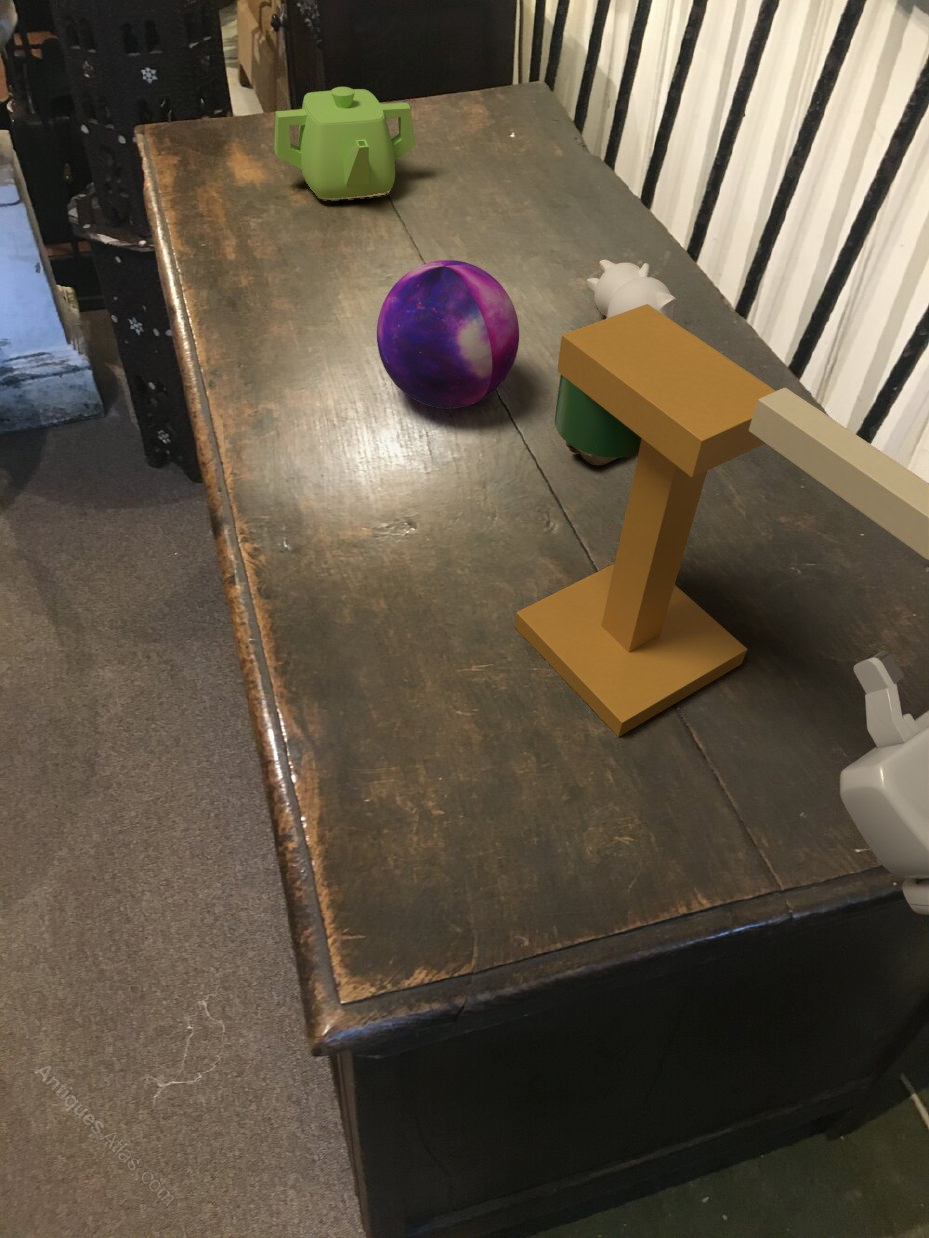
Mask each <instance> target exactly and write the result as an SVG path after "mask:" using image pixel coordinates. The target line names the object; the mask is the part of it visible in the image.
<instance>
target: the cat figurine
mask: <svg viewBox="0 0 929 1238" xmlns="http://www.w3.org/2000/svg"><path fill="white" fill-rule="evenodd" d="M599 267H600V269H601V270H602V272H603V273H602V275H601V276H600V277H599V278H597V277H590V278H587V279H586V285H587V287H588V288H589V289H590V290H591V291H592V292H593V293H594V296H593V298H594V303H595V306H596V308H597V310H598V311H599V312H600V313H601V314H602V315H603V316H605V317H606V318H605V319H607V318H610V317H612V316H615V315H618V314H621V313H623V312H626V311H629V310H632V309H635V308H637V307H640V306H643V305H646V304H648V305H650V306H651V307H653V308H654V309H656V310H657V311H659V312H660V313H662V314H663V315H664V316H666V317H667V318H669V319H670V320H672V321H673V318H674V317H673V316H674V310H675V309H674V308H675V307H674V306H675V303H676V301H677V298H676V297H675V296H674V295H672V294H671V291H670V290H669V288H668V287H667V286H666V284H665V283H663V282H662V281H661V280H660V279H657V278H654V277H651V276H649V272H650V264H649V263H647V262H645V263H643V264H642V266H641V267H640V266H639V265H637V264H635V263H633V262H619V263H615V262H612V261H610V260H608V259H601V260H600V261H599Z"/></svg>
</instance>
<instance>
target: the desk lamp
mask: <svg viewBox="0 0 929 1238" xmlns="http://www.w3.org/2000/svg"><path fill="white" fill-rule="evenodd" d="M606 318H607V317H606ZM606 318H604V319H602V320H599V321H596V322H593V323H591V324H587V325H584V326H583V327H580V328H576V329H574V330H571V331H569V332H566V333H563V334H561V338H560V345H559V346H560V348H559V354H558V361H557V370H556V372H558V374H560V376H559V382H558V383H559V384H558V391H557V392H558V393H557V399H556V407H555V415H554V426H555V428H556V431H557V433H558V435H559V436H560V437H561V438H562V439H563V440H564V441H565V443H566V442H567V443H569V444H570V445H571V446H573V447H575V448H576V449H578V450H580V451H583V452H585V453H588V454H591V455H595V456H600V457H608V458H617V459H619V458H621V459H622V458H629V457H633V456H637V458H636V463H635V468H634V472H633V477H632V481H631V486H630V491H629V495H628V500H627V504H626V510H625V514H624V517H623V518H624V519H623V523H622V528H621V532H620V537H619V541H618V546H617V552H616V555H615V561H614V563H612V564H610V565H609V566H606V567H605V568H602V569H600V570H598V571H596V572H593V574H591V575H588V576H586V577H584V578H582V579H581V580H578V581H577V582H574V583H572V584H570V585H569V586H566V587H564V588H562V589H561V590H559V591H556V592H553V593H552V594H550V595H548V596H546V597H544V598H543V599H540V600H537V601H536V602H534V603H532V604H530V605H528V606H526V607H524V608H521V609H520V610H518V611H516V612H515V622H514V628H515V629H516V631H518V633H520V635H522V637H523V638H524V639H525V640H526V641H527V642H528V643H529V644H530V645H531V646H532V647H533V648H534V650H536V651H537V652H538V653H539V655H540V656H541V657H542V658H543V659H544V660H545V661H546V662H547V663H548V664H549V665H550V666H551V667H552V669H554V671H555V672H557V674H558V675H559V676H560V677H561V678H562V679H563V681H564V682H566V683H567V684H568V686H570V687H571V689H572V690H573V691H574V692H575V693H577V695H578V696H579V697H580V698H581V699H582V700H583V701H584V703H586V704H587V705H588V706H589V708H591V711H593V712H594V713H595V714H596V715H597V716H598V717H599V718H600V720H602V721H603V723H604V724H605V725H606V726H608V728H609V729H610V730H611V731H612V732H613V733H614V734H615V736H617V738H620V737H621V736H623V735H624V734H627V733H628V732H630V731H631V730H633V729H635V728H636V727H638V726H640V725H642V724H643V723H645V722H646V721H648V720H650V719H651V718H653V717H655V716H656V715H658V714H660V713H662V712H663V711H665V710H667V709H669V708H670V707H672V706H674V705H675V704H677V703H679V702H680V701H682V700H683V699H685V698H687V697H688V696H690V695H692V694H695V692H697V691H699V690H700V689H702V688H704V687H705V686H707V685H709V684H711V683H712V682H713V681H716V680H717V679H719V678H720V677H723V676H724V675H726V674H727V673H729V672H731V671H732V670H734V669H736V668H737V667H740V665H742V664H743V662H744V659H745V657H746V654H747V651H748V648H747V647H746V646H744V645H743V644H742V643H741V642H740V641H739V640H738V639H737V638H736V637H734V636H733V635H732V634H731V633H730V632H729V631H727V629H725V628H724V627H723V626H722V625H721V624H720V623H719V622H717V621H716V619H714V618H713V617H712V616H711V615H710V614H709V613H708V612H706V611H705V610H704V609H703V608H702V607H701V606H699V604H697V603H696V602H695V601H694V600H693V599H691V598H690V597H689V596H688V595H687V594H686V593H685V592H683V590H682V589H680V588H679V587H678V586H677V585H676V582H677V578H678V574H679V571H680V568H681V564H682V561H683V558H684V553H685V550H686V548H687V543H688V539H689V536H690V532H691V529H692V526H693V522H694V518H695V516H696V512H697V508H698V505H699V502H700V499H701V495H702V491H703V488H704V484H705V481H706V478H707V475H708V474H707V473H708V471H710V470H712V469H714V468H716V467H719V466H722V464H725V463H727V462H729V461H731V460H733V459H735V458H738V457H740V456H742V455H744V454H747V453H748V452H751V451H753V450H755V449H757V448H759V447H761V446H763V445H766V443H764V442H763V441H762V440H760V439H759V438H758V437H756V436H755V435H753V434H752V433H751V432H749V427H750V424H751V421H752V418H753V415H754V411H755V408H756V405H757V402H758V399H760V398H762V397H764V396H767V395H769V394H771V393H773V392H776V391H777V390H776V389H774V388H773V387H772V386H769V385H768V384H767V383H765V382H763V381H762V380H761V379H759V378H758V377H757V376H755V375H753V374H752V373H750V372H749V371H748V370H746V369H744V368H743V367H741V365H738V364H737V363H735V362H734V361H732V360H731V359H730V358H728V357H727V356H725V355H724V354H722V353H721V352H719V351H718V350H716V349H715V348H714V347H712V346H710V345H708V343H706V342H704V341H703V340H701V339H700V338H699V337H697V336H696V335H694V334H692V333H691V332H690V331H688V330H687V329H685V328H684V327H682V326H681V325H680V324H678V323H677V322H675V321H673V319H672V320H670V319H669V318H667V317H666V316H664V315H663V314H662V313H660V312H659V311H657V310H656V309H654V308H653V307H651V306H650V305H648V304H646V305H643V306H640V307H637V308H635V309H632V310H629V311H626V312H623V313H621V314H618V315H615V316H612V317H610V318H607V319H606Z"/></svg>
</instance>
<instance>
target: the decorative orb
mask: <svg viewBox="0 0 929 1238" xmlns="http://www.w3.org/2000/svg"><path fill="white" fill-rule="evenodd" d="M378 314H379V315H378V318H377V323H376V324H377V325H376V344H377V350H378V354H379V358H380V360H381V361H380V362H381V363H382V365H383V368H384V370H385V371H386V373H387V375H388V376H389V378H390V379H391V381H392V382H393V383H394V384H395V385H396V387H397V388H398V389H399V390H400V391H401V392H403V393H404V394H405V395H406V396H408V397H409V398H411V399H412V400H414V401H415V402H418V403H420V404H423V405H425V406H428V407H433V408H437V409H447V410H448V409H449V410H450V409H451V410H452V409H460V408H465V407H469V406H471V405H474V404H476V403H478V402H481V401H482V400H485V399H486V398H487V397H489V396H490V395H492V394H493V393H494V392H495V391H496V390H497V389H498V388H499V387H500V386H501V385H502V384H503V382H505V380H506V378H507V377H508V375H510V372H511V370H512V368H513V367H514V364H515V361H516V358H517V354H518V351H519V346H520V345H519V344H520V325H519V319H518V315H517V311H516V308H515V305H514V303H513V301H512V299H511V297H510V295H509V293H508V292H507V291H506V289H505V287H503V286H502V284H501V283H500V282H499V281H498V280H497V279H496V278H495V277H493V276H492V274H490V273H489V272H488V271H486V270H484V269H483V268H481V267H479V266H477V265H474V264H472V263H468V262H465V261H462V260H455V259H442V260H440V259H439V260H435V261H430V262H427V263H424V264H421V265H418V266H417V267H415V268H413V269H411V270H410V271H408V272H407V273H405V274H404V275H403V276H402V277H401V278H400V279H398V281H397V282H395V284H394V285H393V286H392V288H391V289H390V290H389V292H388V293H387V295H386V297H385V298H384V300H383V302H382V305H381V307H380V311H379V313H378Z"/></svg>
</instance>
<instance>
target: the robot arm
mask: <svg viewBox="0 0 929 1238" xmlns="http://www.w3.org/2000/svg"><path fill="white" fill-rule="evenodd" d="M852 670H853V673H854V675H855V677H856V678H857V680H858V682H859V683H860V686H861V687H862V689H863V691H864V693H865V695H864V700H865V712H866V713H865V717H866V730H867V731H868V733H869V735H870V738H871V739H872V741H873V742H874V744H875V747H874V748H872V749H871V750H869V751H868V752H866V753H865V754H864V755H862V756H860V757H859V758H858V759H856V760H855V761H854V762H852V763H851V764H849V765H848V766H846V767H845V768H843V769H842V771H841V772H840V774H839V797H840V800H841V802H842V804H843V807H844V808H845V810H846V812H847V814H848V815H849V817H850V819H851V820H852V822H853V824H854V825H855V827H856V829H857V831H858V832H859V834H860V835H861V837H862V839H863V840H864V842H865V843H866V845H867V846H868V847H869V849H870V851H871V852H872V854H873V855H874V856H875V858H876V860H877V861H878V862H879V863H880V864H881V865H882V866H883V867H884V869H886V871H888V872H889V873H890V874H892V875H893V876H895V877H896V878H897V877H898V878H899V879H904V880H903V882H902V886H901V889H902V894H903V897H904V898H905V900H906V902H907V904H908V906H909V907H910V909H911V910H912V911H913V912H914V913H916V914H917V915H923V916H929V709H928V710H927V711H925V712H924V713H922V714H921V715H920V716H918V717H917V718H916V719H914V717H913V716H912V714H911V713H905V714H903V712H902V708H901V707H902V706H901V700H900V696H899V691H898V684H897V683H898V682H899V681H901V680H902V679H904V678H905V676H906V675H905V674H904V672H903V670H902V669H901V667H900V666H899V665H898V664H897V663H896V658H895V657H894V655H893V654H892V653H891V652H890V651H888V650H881V651H878V652H876V653H872V654H870V655H869V656H867V657H865V658H864V659H862V660H860V661H859V662H857V663H855V665H854V666H853V669H852Z"/></svg>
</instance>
